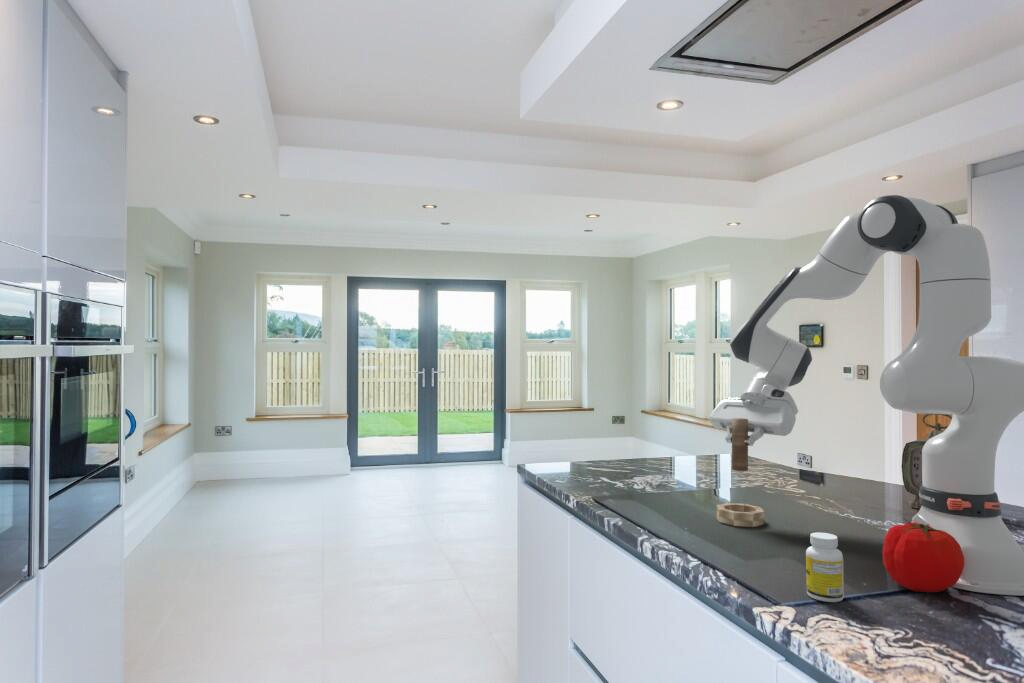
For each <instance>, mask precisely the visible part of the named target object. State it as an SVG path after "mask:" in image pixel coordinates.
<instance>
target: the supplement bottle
mask: <svg viewBox="0 0 1024 683" xmlns="http://www.w3.org/2000/svg"><path fill="white" fill-rule="evenodd" d="M809 537H810V538H809V539H810V544H811V546H808V547H807V548H806V550H805V566H806V567H805V572H806V573H805V575H806V576H805V577H806V581H805V582H806V593H807V595H808V596H809V598H811V599H814V600H817V601H821V602H825V603H826V602H827V603H839V602H842V601H843V599H844V598H845V587H844V585H845V584H844V580H845V578H844V556H843V553H842V551H841V550H839V549H838V546H839V540H838V536H837V535H836V534H832V533H828V532H812V533H810V536H809Z"/></svg>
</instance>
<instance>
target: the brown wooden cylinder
mask: <svg viewBox="0 0 1024 683" xmlns="http://www.w3.org/2000/svg"><path fill="white" fill-rule="evenodd" d="M746 436H749V432H748V419H744V418H732V443H731V470H732V471H737V472H747V471H749V446H748V445H746V443H745V442H744V440H745V439H746Z"/></svg>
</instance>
